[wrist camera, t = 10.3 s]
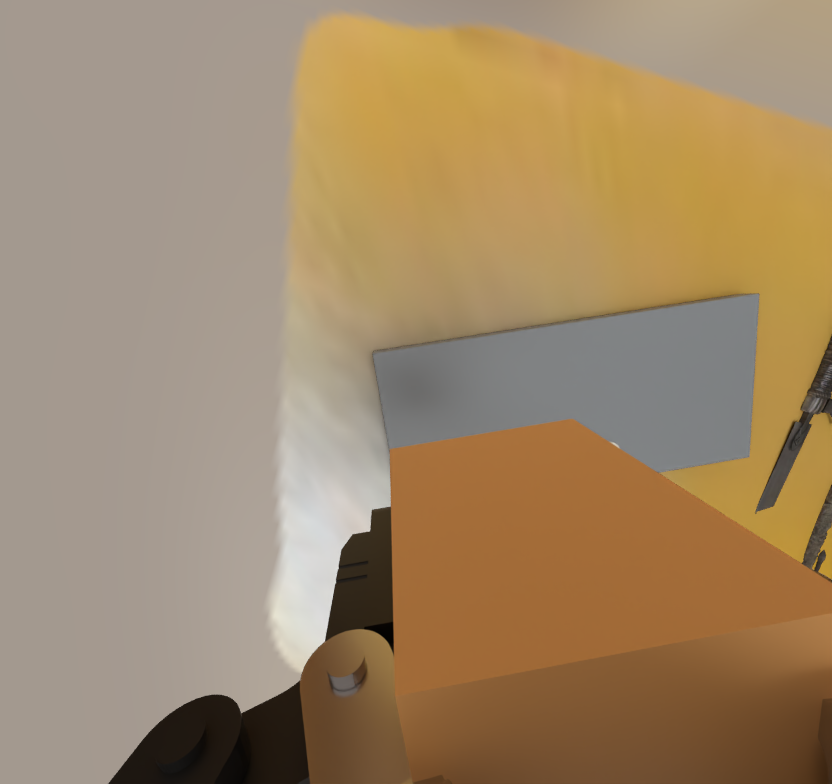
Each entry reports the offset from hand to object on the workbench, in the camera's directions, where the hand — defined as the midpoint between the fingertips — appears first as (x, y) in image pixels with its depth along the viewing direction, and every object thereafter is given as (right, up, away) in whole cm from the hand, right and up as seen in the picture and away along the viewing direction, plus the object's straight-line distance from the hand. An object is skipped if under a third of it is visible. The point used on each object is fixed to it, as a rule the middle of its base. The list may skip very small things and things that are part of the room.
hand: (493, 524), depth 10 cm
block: (0, 0, 0) cm, 0 cm away
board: (+7, +3, +14) cm, 16 cm away
